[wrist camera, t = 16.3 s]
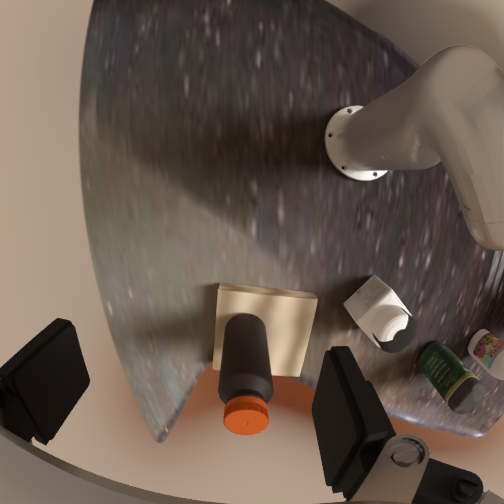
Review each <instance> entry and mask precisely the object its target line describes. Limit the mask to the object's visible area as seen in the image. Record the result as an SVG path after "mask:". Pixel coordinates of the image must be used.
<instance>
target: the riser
mask: <svg viewBox="0 0 504 504" xmlns="http://www.w3.org/2000/svg"><path fill="white" fill-rule="evenodd" d="M317 302H318V299H317V297H316V295H315V293H314V292H303V291H292V290H282V289H272V288H262V287H253V286H243V285H234V284H226V283H220V285H219V288H218V297H217V310H216V324H215V338H214V354H213V370H220V367H221V358H222V350H223V341H224V332H225V326H226V324H227V322H228V321H229V320H230V319H231V318H232V317H233V316H236V315H238V314H243V313H247V314H253V315H255V316H257V317H259V318H260V319H261V320H262V321H263V323H264V325H265V327H266V334H267V342H268V350H269V358H270V366H271V373H272V375H279V376H300V372H301V368H302V364H303V361H304V357H305V353H306V349H307V345H308V341H309V337H310V333H311V329H312V324H313V320H314V316H315V311H316V307H317Z"/></svg>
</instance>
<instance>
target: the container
mask: <svg viewBox="0 0 504 504" xmlns="http://www.w3.org/2000/svg"><path fill="white" fill-rule="evenodd" d="M344 306H345V308H346V309H347V311H348V312H349V313H350V315H351V316H352V318H353V319H354V321H355V322H356V324H357V325H358V326H359V327H360V328H361V329H362V330H363V331H364V332H365V333H366V334H367V335H368V337H369V338H370V339H371V340H372V341H373V342H374V343H375V344H376V345H377V346H378V347H379V348H380V347H381V349H382V350H383V351H385V352H388V353H394V352H398V351H401V350H402V349H404V348H405V347H407V346H408V345H409V344H410V343H411V341H412V340H413V338H414V336H415V333H416V322H415V320H414V318H413V317H412V316H411V314H410V313H409V311H408V310H407V309H406V307H405V306H404V304H403V303H402V302H401V300H400V299H399V298H398V296H397V295H396V294H395V292H394V291H393V290H392V289H391V288H390V287H389V286H387V285H386V284H385V283H384V282H383V281H381V280H380V279H379V278H378V277H377V276H375V275H373V276H372V277H371V278H370V279H369V280H368V281H367V282H365V283H364V284H363V285H362V286H361V287H360V288H359V289H358V290H357V291H356V292H355V293H354V294H353V295H352V296H351V297H350V298H348V299H347V300H346V301H345V302H344Z"/></svg>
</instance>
